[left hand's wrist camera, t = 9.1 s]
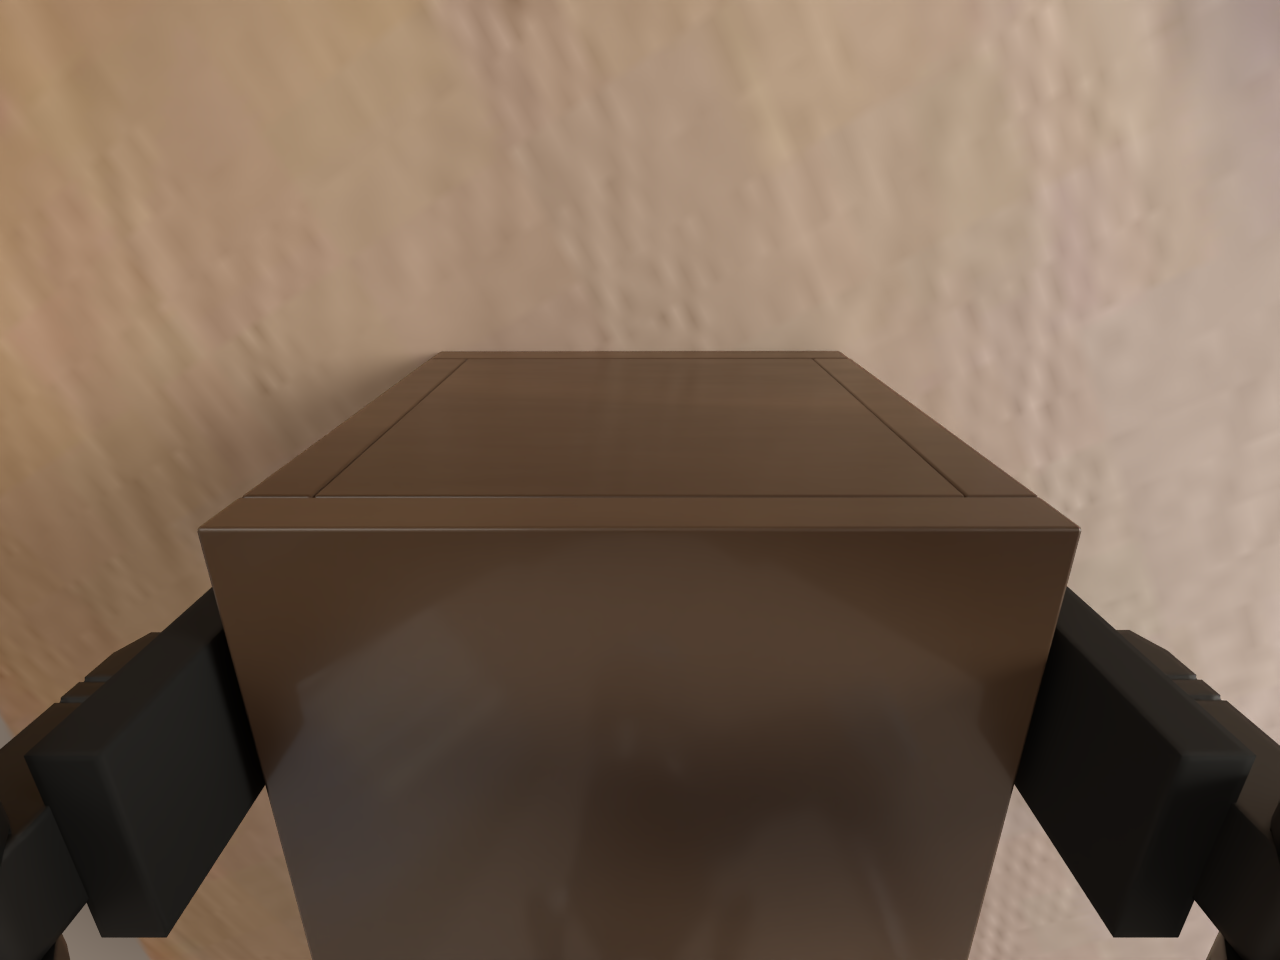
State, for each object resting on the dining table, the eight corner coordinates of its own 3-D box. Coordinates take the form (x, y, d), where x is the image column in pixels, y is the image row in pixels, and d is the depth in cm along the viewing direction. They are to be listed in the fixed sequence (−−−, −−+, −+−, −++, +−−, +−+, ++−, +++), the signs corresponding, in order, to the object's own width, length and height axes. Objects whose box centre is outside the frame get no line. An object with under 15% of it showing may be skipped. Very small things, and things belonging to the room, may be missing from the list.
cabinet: (779, 918, 25) (863, 1354, 16) (501, 918, 25) (417, 1354, 16) (840, 350, 18) (1083, 527, 8) (439, 350, 18) (194, 528, 8)
